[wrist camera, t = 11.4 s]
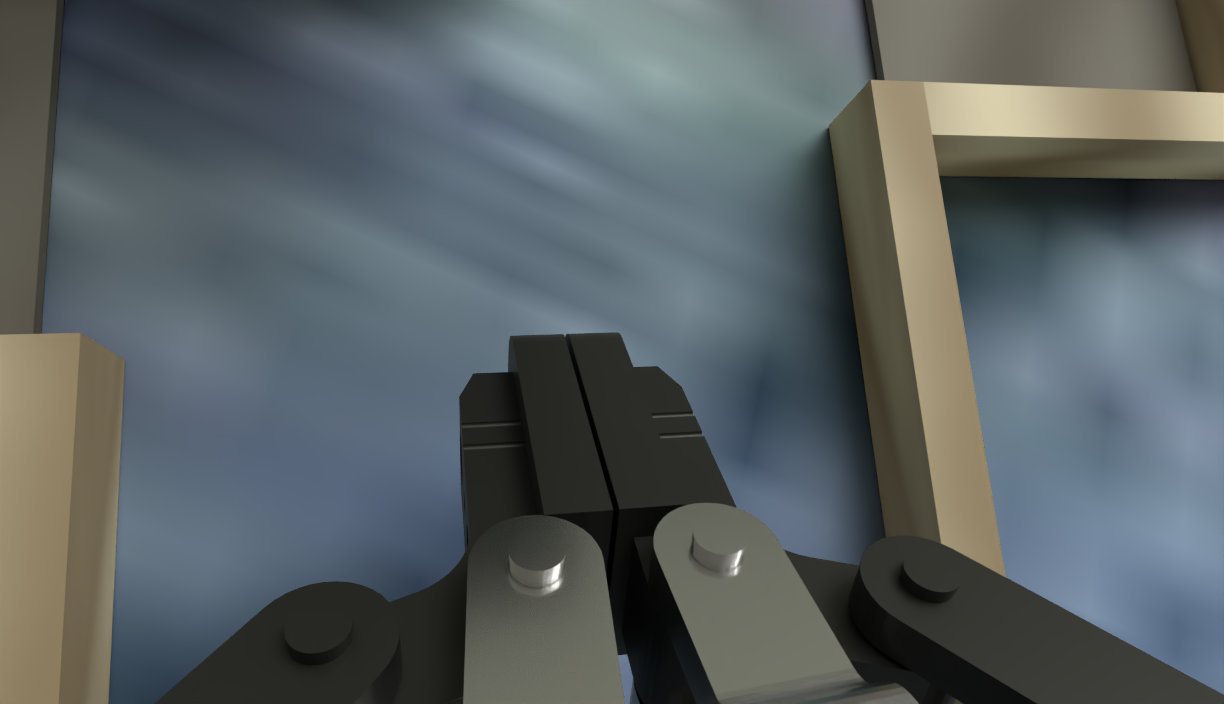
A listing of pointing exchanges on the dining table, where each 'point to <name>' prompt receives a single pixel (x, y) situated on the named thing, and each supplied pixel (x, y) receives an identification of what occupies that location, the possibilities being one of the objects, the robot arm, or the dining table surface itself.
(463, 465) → the robot arm
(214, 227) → the dining table surface
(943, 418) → the trap course
